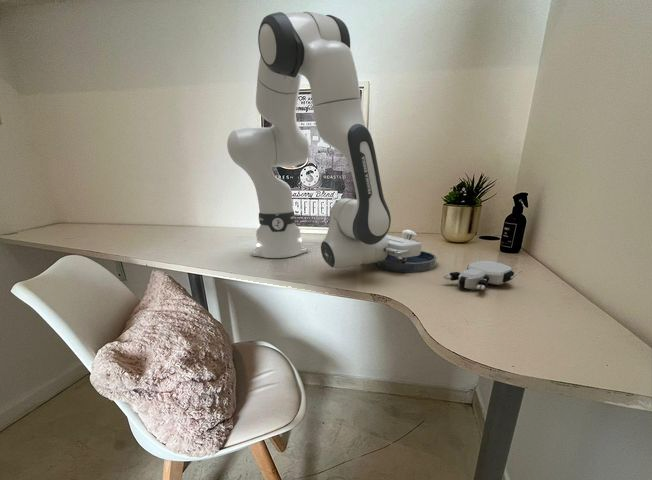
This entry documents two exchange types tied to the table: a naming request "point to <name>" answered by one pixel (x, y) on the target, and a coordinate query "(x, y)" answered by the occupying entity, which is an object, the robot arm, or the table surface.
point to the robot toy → (482, 275)
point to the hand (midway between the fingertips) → (410, 241)
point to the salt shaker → (410, 236)
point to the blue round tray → (410, 263)
